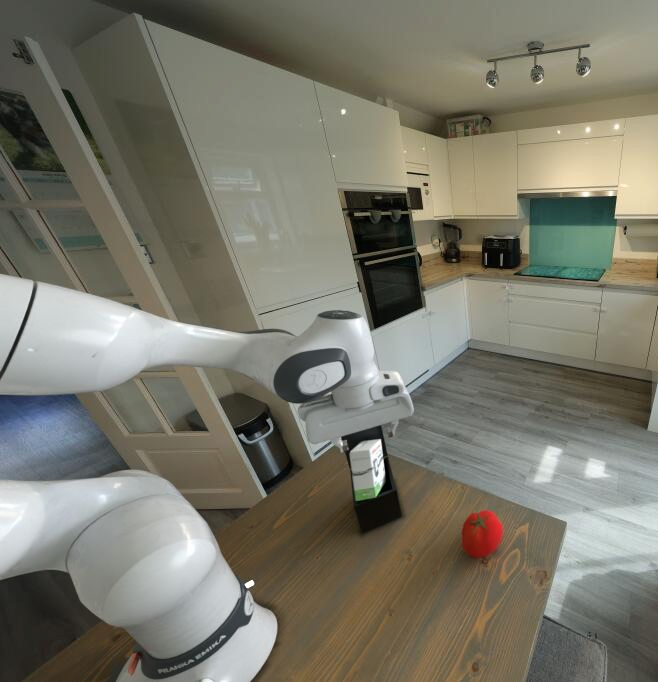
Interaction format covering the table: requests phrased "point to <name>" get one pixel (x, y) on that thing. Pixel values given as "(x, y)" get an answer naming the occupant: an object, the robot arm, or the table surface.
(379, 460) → the ink box
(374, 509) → the trash bin
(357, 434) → the bin lid
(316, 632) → the table surface
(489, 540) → the tomato
